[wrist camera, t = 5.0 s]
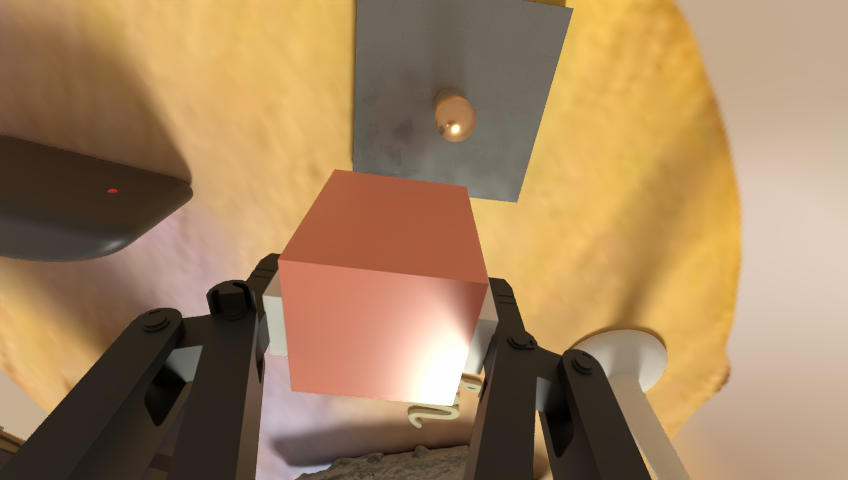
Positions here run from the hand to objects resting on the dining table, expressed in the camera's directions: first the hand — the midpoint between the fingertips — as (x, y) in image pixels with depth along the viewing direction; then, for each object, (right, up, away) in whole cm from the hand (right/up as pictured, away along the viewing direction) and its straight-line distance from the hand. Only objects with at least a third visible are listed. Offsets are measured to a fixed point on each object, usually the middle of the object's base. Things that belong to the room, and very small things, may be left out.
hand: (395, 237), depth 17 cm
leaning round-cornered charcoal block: (-26, +6, +12) cm, 30 cm away
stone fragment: (-5, -33, +36) cm, 50 cm away
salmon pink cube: (0, 0, 0) cm, 0 cm away
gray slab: (+3, +11, +10) cm, 15 cm away
